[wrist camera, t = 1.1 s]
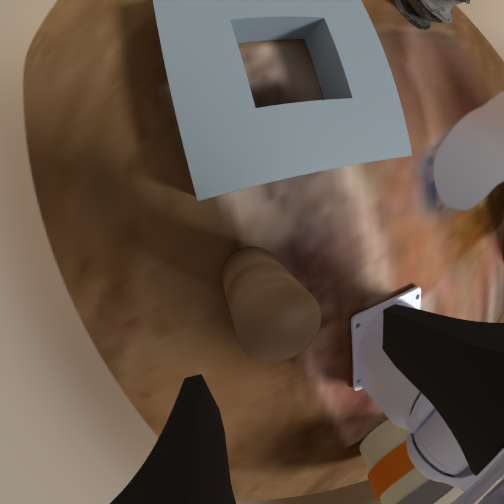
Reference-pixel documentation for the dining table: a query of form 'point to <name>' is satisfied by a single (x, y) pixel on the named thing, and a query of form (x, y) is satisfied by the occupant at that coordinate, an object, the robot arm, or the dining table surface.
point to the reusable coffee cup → (397, 469)
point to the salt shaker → (427, 11)
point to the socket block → (284, 115)
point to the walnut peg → (268, 306)
